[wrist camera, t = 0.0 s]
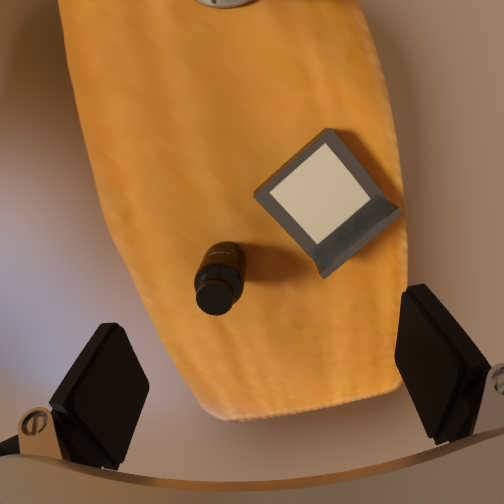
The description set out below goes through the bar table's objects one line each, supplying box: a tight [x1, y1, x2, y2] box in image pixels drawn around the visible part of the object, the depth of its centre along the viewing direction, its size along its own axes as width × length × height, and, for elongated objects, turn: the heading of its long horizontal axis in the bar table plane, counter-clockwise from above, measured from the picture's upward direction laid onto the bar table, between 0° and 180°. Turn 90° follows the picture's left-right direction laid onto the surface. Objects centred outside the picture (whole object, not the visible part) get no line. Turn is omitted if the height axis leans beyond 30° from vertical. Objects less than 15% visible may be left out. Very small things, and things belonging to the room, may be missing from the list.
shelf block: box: [253, 128, 403, 279], centre depth 41 cm, size 14×14×8 cm
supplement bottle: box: [194, 242, 247, 316], centre depth 44 cm, size 7×7×12 cm
